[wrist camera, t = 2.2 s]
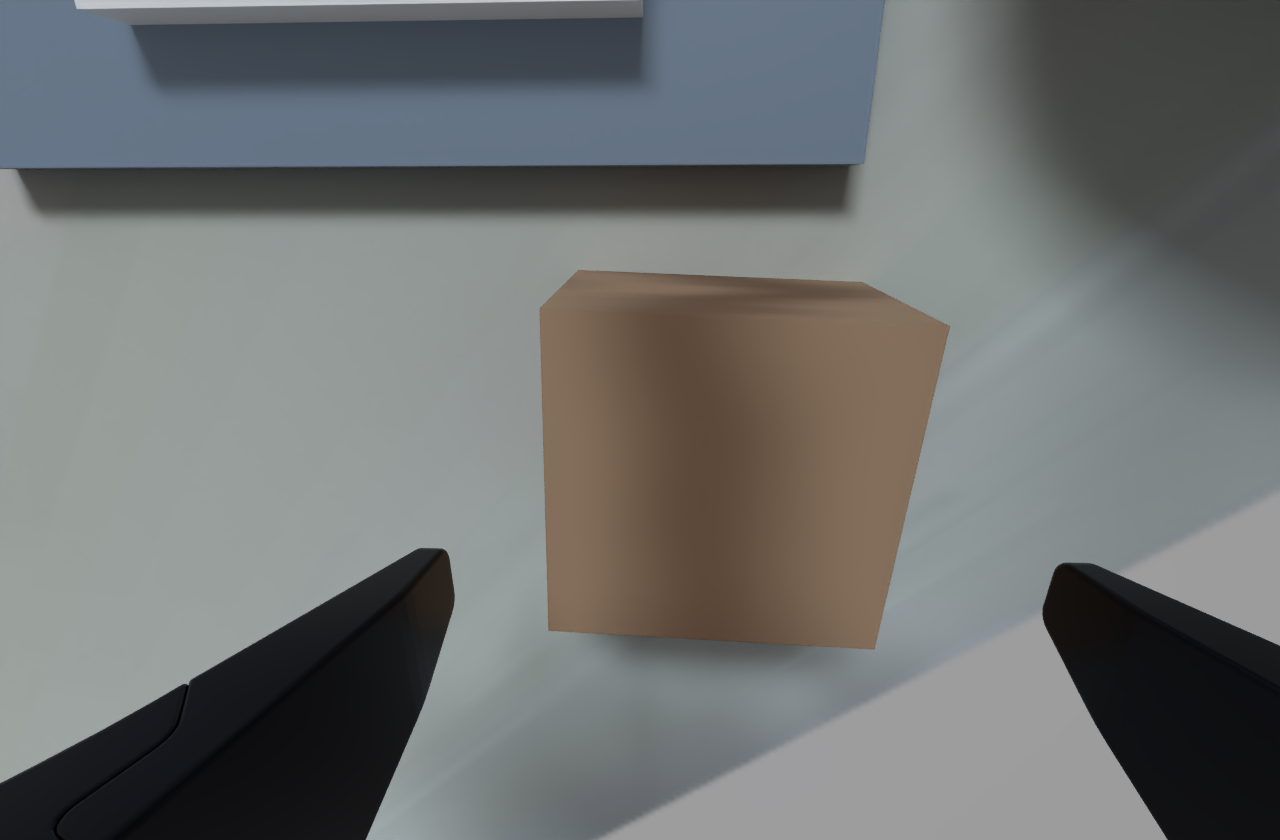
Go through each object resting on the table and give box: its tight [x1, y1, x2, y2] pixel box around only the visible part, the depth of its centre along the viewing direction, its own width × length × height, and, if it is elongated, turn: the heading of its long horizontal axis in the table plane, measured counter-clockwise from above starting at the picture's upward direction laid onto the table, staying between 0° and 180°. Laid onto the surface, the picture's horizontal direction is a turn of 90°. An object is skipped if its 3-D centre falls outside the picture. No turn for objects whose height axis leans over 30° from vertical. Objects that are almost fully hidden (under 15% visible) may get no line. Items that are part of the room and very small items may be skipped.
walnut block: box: [540, 270, 950, 649], centre depth 14 cm, size 7×7×5 cm
